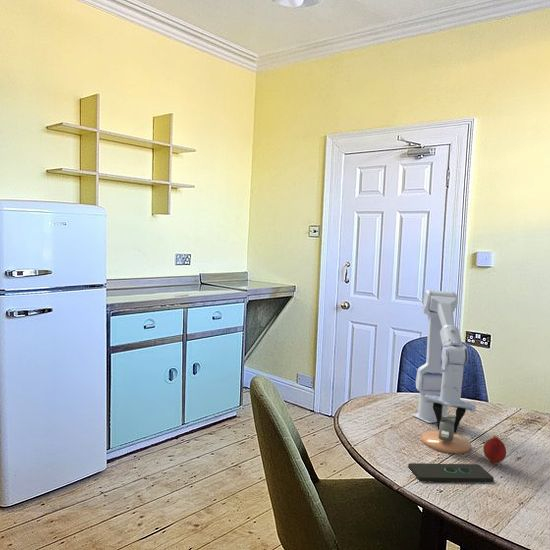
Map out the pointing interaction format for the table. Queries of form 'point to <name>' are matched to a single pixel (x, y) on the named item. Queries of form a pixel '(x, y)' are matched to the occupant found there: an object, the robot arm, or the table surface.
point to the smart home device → (450, 472)
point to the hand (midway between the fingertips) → (447, 430)
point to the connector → (447, 427)
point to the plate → (446, 443)
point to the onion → (494, 450)
